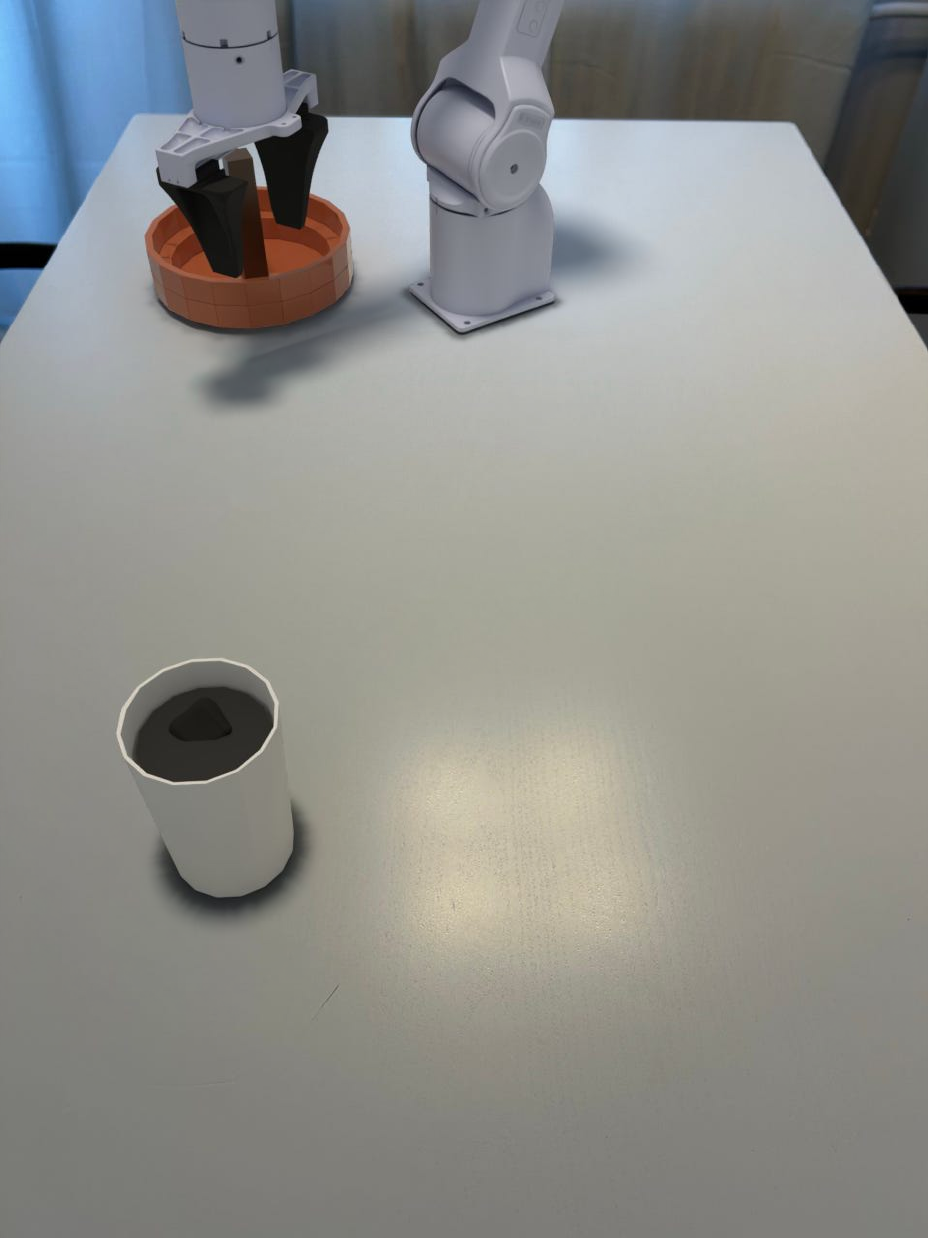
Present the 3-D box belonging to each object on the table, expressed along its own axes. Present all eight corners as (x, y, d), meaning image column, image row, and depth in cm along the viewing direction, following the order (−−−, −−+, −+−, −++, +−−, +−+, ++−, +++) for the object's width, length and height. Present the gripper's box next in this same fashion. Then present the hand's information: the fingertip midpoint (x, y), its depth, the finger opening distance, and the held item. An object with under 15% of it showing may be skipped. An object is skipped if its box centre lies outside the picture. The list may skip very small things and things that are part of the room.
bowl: (298, 219, 94) (292, 170, 91) (388, 298, 85) (385, 246, 82) (127, 266, 88) (115, 215, 84) (205, 357, 79) (194, 303, 75)
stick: (263, 267, 87) (246, 146, 79) (269, 278, 86) (252, 157, 78) (239, 271, 86) (220, 150, 79) (245, 283, 85) (226, 161, 78)
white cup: (140, 831, 50) (89, 705, 43) (260, 764, 53) (231, 634, 46) (205, 933, 47) (161, 815, 40) (329, 855, 50) (309, 731, 42)
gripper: (211, 84, 56) (247, 311, 65) (350, 7, 64) (363, 217, 74) (108, 61, 58) (158, 284, 68) (256, -11, 66) (281, 196, 76)
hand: (259, 247), depth 71 cm, fingers open, 7 cm apart
